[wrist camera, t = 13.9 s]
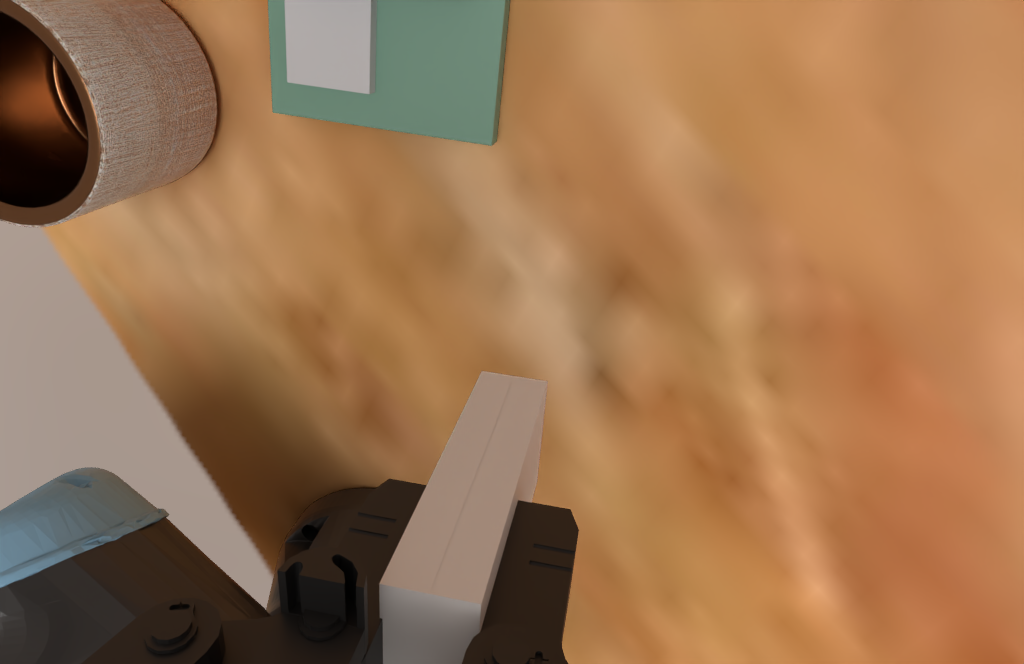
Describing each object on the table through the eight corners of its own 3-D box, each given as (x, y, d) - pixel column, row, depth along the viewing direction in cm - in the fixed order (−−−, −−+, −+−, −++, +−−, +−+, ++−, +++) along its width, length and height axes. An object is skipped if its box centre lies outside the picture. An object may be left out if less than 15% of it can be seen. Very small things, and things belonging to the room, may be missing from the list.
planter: (45, -49, 38) (-132, -59, 30) (233, 16, 38) (107, 25, 29) (48, 147, 43) (-103, 186, 35) (214, 207, 43) (102, 261, 35)
